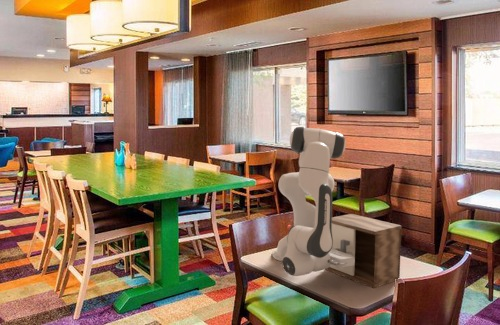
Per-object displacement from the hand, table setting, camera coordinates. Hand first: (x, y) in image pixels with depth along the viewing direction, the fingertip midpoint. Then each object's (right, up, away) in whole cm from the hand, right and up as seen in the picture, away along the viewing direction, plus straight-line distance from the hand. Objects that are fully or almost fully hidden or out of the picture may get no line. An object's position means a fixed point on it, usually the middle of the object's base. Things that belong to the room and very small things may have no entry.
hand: (344, 252), depth 191 cm
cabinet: (+9, -10, +7) cm, 15 cm away
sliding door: (-2, -9, +5) cm, 10 cm away
